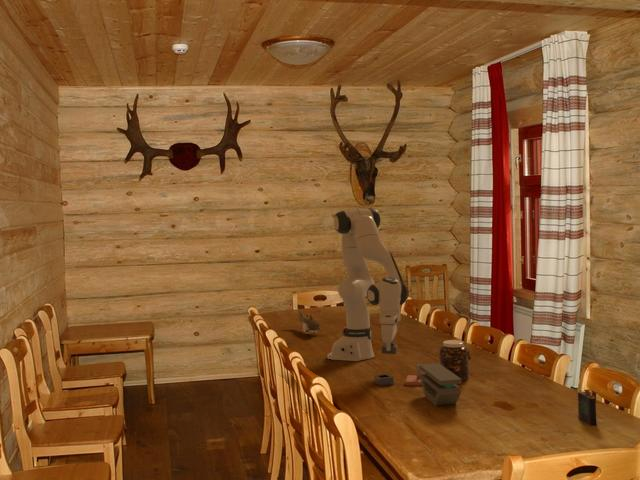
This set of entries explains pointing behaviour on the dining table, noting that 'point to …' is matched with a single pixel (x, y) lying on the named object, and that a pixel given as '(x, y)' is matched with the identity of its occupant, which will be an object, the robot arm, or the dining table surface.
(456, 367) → the jar
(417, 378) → the keeper
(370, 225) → the robot arm
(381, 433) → the dining table surface
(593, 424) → the flask
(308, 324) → the wood carving
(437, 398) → the grey lidded box
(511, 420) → the dining table surface
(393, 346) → the link
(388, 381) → the loose link
